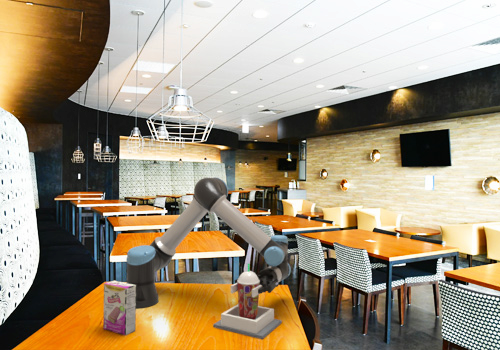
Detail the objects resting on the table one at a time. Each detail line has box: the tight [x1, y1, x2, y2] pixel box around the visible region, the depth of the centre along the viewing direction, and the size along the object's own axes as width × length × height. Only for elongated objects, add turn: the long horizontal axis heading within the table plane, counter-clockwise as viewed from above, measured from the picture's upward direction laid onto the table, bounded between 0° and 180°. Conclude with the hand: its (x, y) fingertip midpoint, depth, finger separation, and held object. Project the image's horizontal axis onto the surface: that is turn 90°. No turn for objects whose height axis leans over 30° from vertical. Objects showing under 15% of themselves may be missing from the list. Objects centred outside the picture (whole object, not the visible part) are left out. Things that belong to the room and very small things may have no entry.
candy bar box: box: [102, 280, 137, 336], centre depth 129 cm, size 11×5×16 cm, turn 63°
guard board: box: [212, 303, 283, 340], centre depth 135 cm, size 20×16×5 cm
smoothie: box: [237, 263, 260, 320], centre depth 135 cm, size 8×8×20 cm
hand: (242, 291), depth 131 cm, fingers closed on smoothie, 8 cm apart
